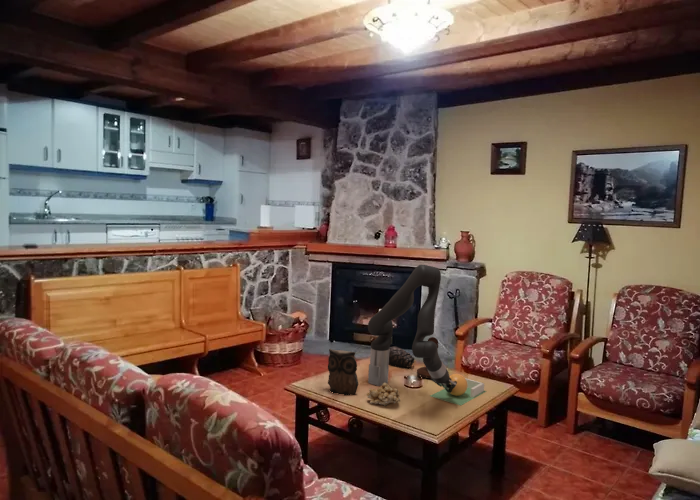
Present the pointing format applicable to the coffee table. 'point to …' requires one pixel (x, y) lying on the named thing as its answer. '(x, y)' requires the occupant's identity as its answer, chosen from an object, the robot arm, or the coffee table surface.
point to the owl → (342, 372)
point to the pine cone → (400, 358)
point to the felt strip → (455, 397)
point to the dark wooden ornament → (423, 370)
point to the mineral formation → (383, 395)
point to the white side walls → (475, 387)
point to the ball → (459, 384)
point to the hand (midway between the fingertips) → (449, 390)
